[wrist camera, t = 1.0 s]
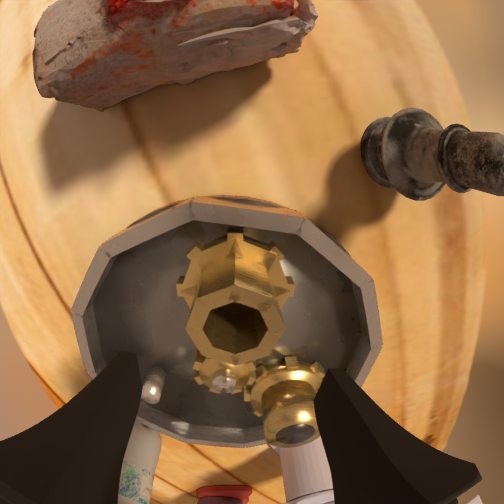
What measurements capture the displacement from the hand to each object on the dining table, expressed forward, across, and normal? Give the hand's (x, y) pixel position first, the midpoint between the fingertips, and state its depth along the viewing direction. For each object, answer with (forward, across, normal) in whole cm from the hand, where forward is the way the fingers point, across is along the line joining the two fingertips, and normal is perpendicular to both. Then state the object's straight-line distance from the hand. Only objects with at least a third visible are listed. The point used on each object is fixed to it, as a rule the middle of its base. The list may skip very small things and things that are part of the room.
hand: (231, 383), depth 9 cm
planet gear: (+9, 0, 0) cm, 9 cm away
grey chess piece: (+11, -10, -10) cm, 18 cm away
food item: (+11, +5, -15) cm, 20 cm away
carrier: (+10, 0, +7) cm, 12 cm away
